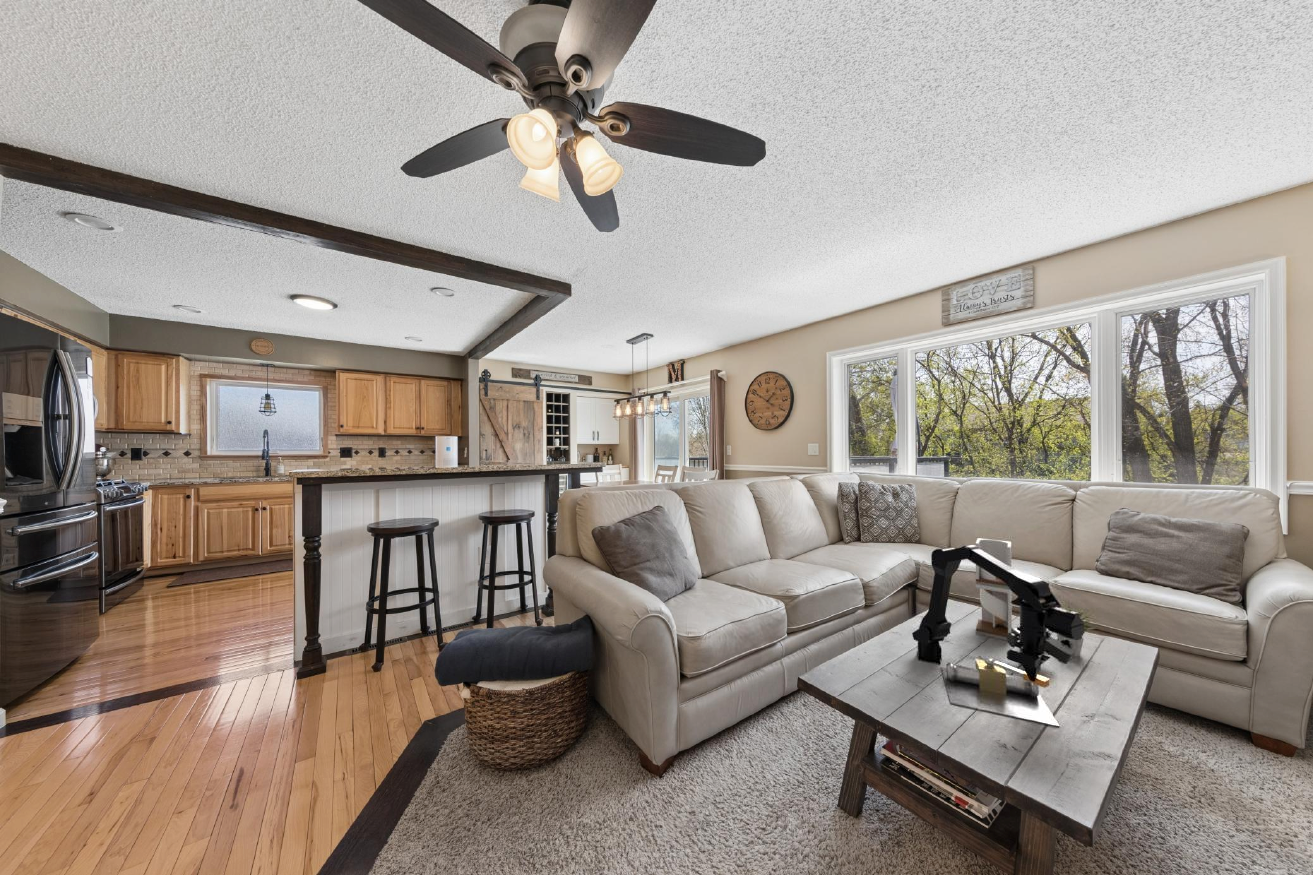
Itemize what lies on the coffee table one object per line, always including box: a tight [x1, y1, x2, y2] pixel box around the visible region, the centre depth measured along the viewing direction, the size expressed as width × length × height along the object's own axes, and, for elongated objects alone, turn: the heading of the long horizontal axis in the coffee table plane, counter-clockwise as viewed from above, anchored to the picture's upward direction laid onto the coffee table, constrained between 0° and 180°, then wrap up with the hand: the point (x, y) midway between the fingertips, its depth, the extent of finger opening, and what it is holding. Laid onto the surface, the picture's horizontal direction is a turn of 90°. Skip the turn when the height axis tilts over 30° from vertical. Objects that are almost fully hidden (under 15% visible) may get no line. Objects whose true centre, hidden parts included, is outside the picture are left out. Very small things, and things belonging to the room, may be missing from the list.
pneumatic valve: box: [1006, 627, 1050, 656], centre depth 150 cm, size 6×12×12 cm, turn 78°
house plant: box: [1056, 605, 1101, 658], centre depth 156 cm, size 14×14×16 cm
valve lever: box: [983, 656, 1050, 689], centre depth 130 cm, size 15×3×2 cm, turn 27°
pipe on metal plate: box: [940, 658, 1060, 728], centre depth 132 cm, size 24×22×7 cm
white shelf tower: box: [975, 537, 1013, 641], centre depth 175 cm, size 11×11×35 cm
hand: (1032, 680), depth 125 cm, fingers closed
